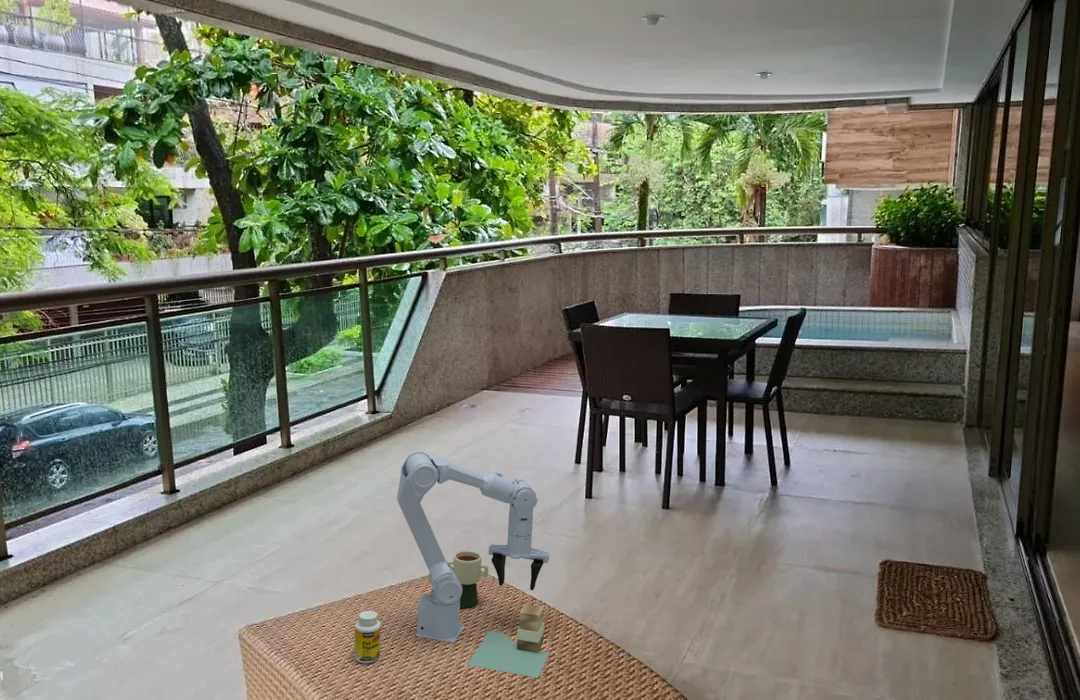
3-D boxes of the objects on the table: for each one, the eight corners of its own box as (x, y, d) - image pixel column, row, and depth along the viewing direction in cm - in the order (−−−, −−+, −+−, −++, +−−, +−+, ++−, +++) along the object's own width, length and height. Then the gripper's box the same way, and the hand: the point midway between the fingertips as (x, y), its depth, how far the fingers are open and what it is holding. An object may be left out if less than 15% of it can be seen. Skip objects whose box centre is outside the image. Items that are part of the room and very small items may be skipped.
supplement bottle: (359, 667, 183) (360, 622, 181) (350, 655, 187) (351, 612, 186) (383, 660, 186) (385, 617, 184) (374, 649, 190) (375, 606, 189)
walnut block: (516, 649, 193) (517, 639, 193) (522, 639, 198) (522, 629, 197) (537, 653, 192) (538, 642, 191) (543, 642, 197) (543, 632, 196)
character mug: (489, 600, 217) (491, 552, 215) (483, 612, 210) (486, 563, 208) (448, 595, 219) (449, 548, 217) (441, 608, 212) (443, 559, 210)
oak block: (519, 628, 192) (519, 612, 192) (524, 620, 197) (524, 603, 196) (538, 632, 191) (539, 615, 191) (542, 623, 196) (543, 607, 195)
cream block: (517, 639, 193) (517, 629, 192) (522, 629, 197) (523, 619, 197) (538, 642, 191) (539, 632, 191) (543, 632, 196) (544, 622, 196)
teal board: (467, 666, 185) (467, 664, 185) (489, 632, 201) (489, 631, 201) (537, 679, 182) (537, 677, 182) (554, 644, 197) (554, 642, 197)
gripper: (485, 534, 198) (483, 588, 200) (546, 542, 195) (542, 597, 197) (494, 523, 205) (491, 576, 207) (552, 531, 202) (549, 585, 204)
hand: (517, 586), depth 203 cm, fingers open, 7 cm apart
